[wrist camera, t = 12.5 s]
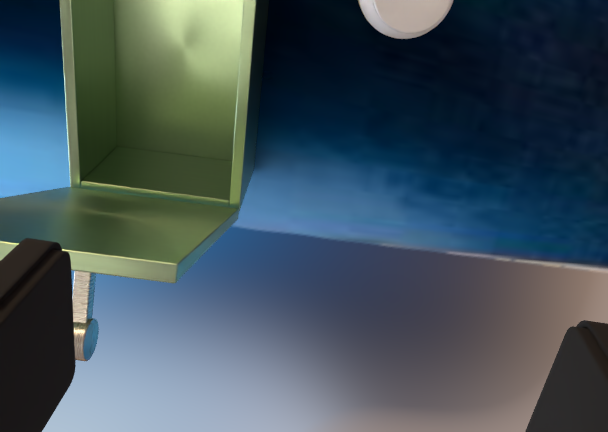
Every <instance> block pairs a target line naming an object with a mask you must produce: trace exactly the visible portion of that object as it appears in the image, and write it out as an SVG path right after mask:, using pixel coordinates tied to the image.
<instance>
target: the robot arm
mask: <svg viewBox="0 0 608 432" xmlns="http://www.w3.org/2000/svg"><path fill="white" fill-rule="evenodd" d="M74 372H75V345H74V322H73V300H72V279H71V259H70V254H69V253H68V252H66V251H62V248H61V245H60V244H59V243H58V242H52V241H45V240H38V239H32V238H25V239H24V240H22V241H21V242H20V243H19V244H18V245H17V246H16V247H15V248H14V249H13V250H12V251H10V252H9V253H8V254H7V255H6V256H5V257H4V258H3V259H2V260H1V261H0V432H42V430H43V429H44V427H45V425H46V424H47V422H48V421H49V419H50V417H51V416H52V414H53V412H54V411H55V409H56V407H57V405H58V404H59V402H60V401H61V399H62V398H63V396H64V394H65V392H66V391H67V389H68V387H69V386H70V384H71V382H72V379H73V376H74ZM526 432H608V324H605V323H598V322H591V321H585V320H584V321H581V322H580V323H579V324H578V325H577V326H576V327H570V328H569V329H568V330H567V332H566V334H565V336H564V339H563V341H562V344H561V346H560V349H559V351H558V354H557V356H556V358H555V361H554V363H553V366H552V368H551V370H550V373H549V375H548V378H547V380H546V383H545V385H544V388H543V390H542V392H541V395H540V398H539V400H538V402H537V405H536V407H535V409H534V412H533V414H532V417H531V419H530V422H529V424H528V427H527V429H526Z"/></svg>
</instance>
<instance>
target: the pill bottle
mask: <svg viewBox="0 0 608 432" xmlns="http://www.w3.org/2000/svg"><path fill="white" fill-rule="evenodd" d="M358 2H359V5H360V7H361V10H362V12H363V14H364V16H365V18H366V19H367V21H368V22H369V23H370V24H371V25H372V26H373V27H374V28H375V29H376V30H378V31H379V32H381V33H382V34H384V35H387V36H389V37H392V38H398V39H409V38H415V37H418V36H421V35H423V34H425V33H427V32H429V31H430V30H432V29H433V28H435V27H436V26H437V25H438V24H439V23H440V22H441V21H442V20H443V19H444V18H445V16H446V15H447V13H448V11H449V10H450V8H451V5H452V3H453V0H358Z"/></svg>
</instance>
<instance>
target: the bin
mask: <svg viewBox="0 0 608 432" xmlns="http://www.w3.org/2000/svg"><path fill="white" fill-rule="evenodd" d="M268 7H269V0H60V17H61V34H62V50H63V67H64V84H65V101H66V118H67V135H68V152H69V169H70V185H71V187H74V188H81V189H89V190H97V191H105V192H112V193H120V194H128V195H136V196H143V197H151V198H159V199H167V200H175V201H182V202H190V203H198V204H206V205H213V206H221V207H229V208H237V209H239V211H240V208H241V205H242V202H243V199H244V196H245V194H246V191H247V188H248V185H249V182H250V179H251V176H252V173H253V171H254V165H255V154H256V142H257V131H258V120H259V108H260V97H261V86H262V74H263V63H264V52H265V41H266V29H267V18H268Z"/></svg>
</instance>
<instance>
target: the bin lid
mask: <svg viewBox="0 0 608 432" xmlns="http://www.w3.org/2000/svg"><path fill="white" fill-rule="evenodd" d="M238 214H239V209H237V208H229V207H221V206H213V205H206V204H198V203H190V202H182V201H175V200H167V199H159V198H151V197H143V196H136V195H128V194H120V193H112V192H105V191H97V190H89V189H81V188H74V187H65V188H59V189H53V190H47V191H41V192H35V193H29V194H23V195H17V196H11V197H5V198H0V261H1V260H2V259H3V258H4V257H5V256H6V255H7V254H8V253H9V252H10V251H12V250H13V249H14V248H15V247H16V246H17V245H18V244H19V243H20V242H21V241H22V240H24V239H25V238H32V239H38V240H45V241H52V242H58V243H59V244H60V245H61V248H62V251H66V252H68V253H69V254H70V259H71V270H74V271H75V275H74V287H73V298H72V300H73V322H74V345H75V360H81V361H88V360H89V359H90V358H91V356H92V354H93V352H94V350H95V347H96V344H97V339H98V322H97V320H96V319H92V311H93V300H94V289H95V278H96V273H97V274H106V275H113V276H121V277H129V278H137V279H145V280H152V281H160V282H168V283H176V282H177V281H178V280H179V279H180V278H181V277H182V276H183V275H184V274H185V273H186V272H187V271H188V269H190V268H191V267H192V266H193V265H194V264H195V263H196V262H197V260H198V259H199V258H200V257H201V256H202V255H203V254H204V253H205V252H206V251H207V250H208V249H209V248H210V247H211V246H212V245H213V244H214V243H215V242H216V241H217V240H218V239H219V238H220V237H221V235H223V234H224V233H225V232H226V231H227V230H228V229H229V228H230V226H231V225H232V224H233V223H234V222H235V221H236V220H237V219H238Z"/></svg>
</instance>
